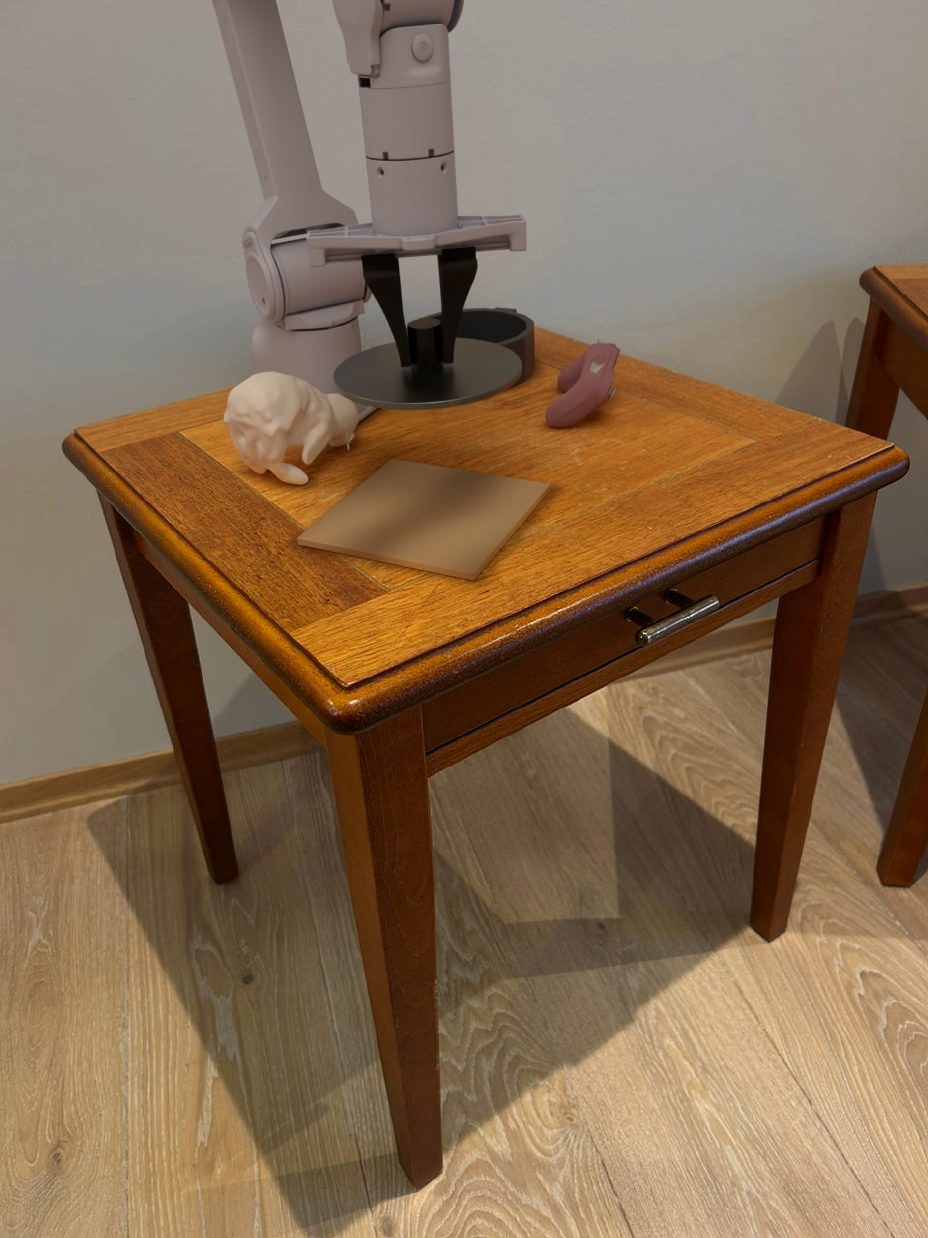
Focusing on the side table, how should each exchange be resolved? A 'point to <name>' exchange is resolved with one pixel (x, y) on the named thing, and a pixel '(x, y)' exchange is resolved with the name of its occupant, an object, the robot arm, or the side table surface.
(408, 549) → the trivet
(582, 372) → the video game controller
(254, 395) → the crouching animal figurine
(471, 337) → the pan
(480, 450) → the side table surface
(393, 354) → the lid
